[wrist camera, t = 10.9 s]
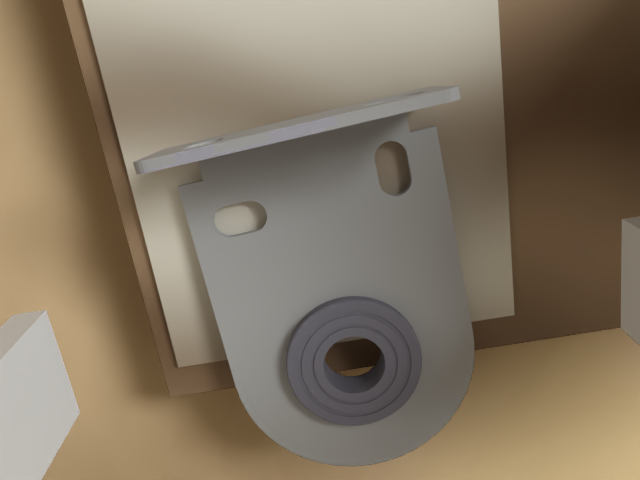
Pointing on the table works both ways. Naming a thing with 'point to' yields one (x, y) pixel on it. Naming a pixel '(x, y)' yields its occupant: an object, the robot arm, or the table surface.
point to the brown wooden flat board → (390, 158)
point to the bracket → (334, 277)
